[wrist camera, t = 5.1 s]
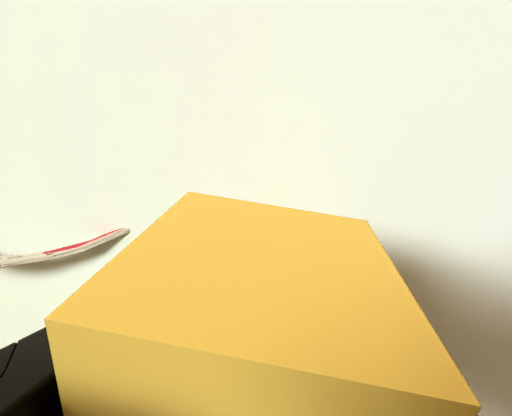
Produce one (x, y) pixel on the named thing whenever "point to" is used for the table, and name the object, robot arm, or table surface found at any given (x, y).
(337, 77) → the table surface
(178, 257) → the mustard cube
